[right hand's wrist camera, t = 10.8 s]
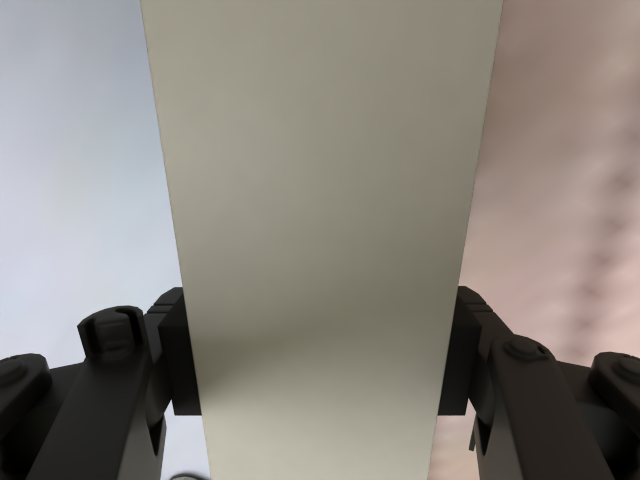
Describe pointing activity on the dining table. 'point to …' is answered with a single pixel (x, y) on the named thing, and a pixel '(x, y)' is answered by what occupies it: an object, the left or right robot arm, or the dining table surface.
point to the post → (320, 219)
